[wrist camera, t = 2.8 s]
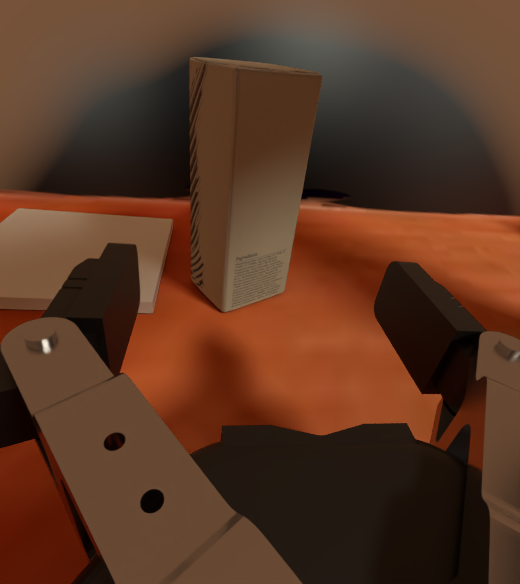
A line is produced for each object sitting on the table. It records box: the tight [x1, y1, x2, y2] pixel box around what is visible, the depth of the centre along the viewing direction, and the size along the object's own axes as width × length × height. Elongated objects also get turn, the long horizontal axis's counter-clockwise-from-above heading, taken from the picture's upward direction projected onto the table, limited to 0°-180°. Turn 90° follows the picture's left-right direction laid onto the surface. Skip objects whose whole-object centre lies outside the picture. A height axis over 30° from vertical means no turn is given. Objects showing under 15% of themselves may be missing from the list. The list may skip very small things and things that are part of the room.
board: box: [0, 208, 173, 313], centre depth 24 cm, size 12×12×1 cm
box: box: [190, 57, 322, 312], centre depth 20 cm, size 5×4×13 cm
